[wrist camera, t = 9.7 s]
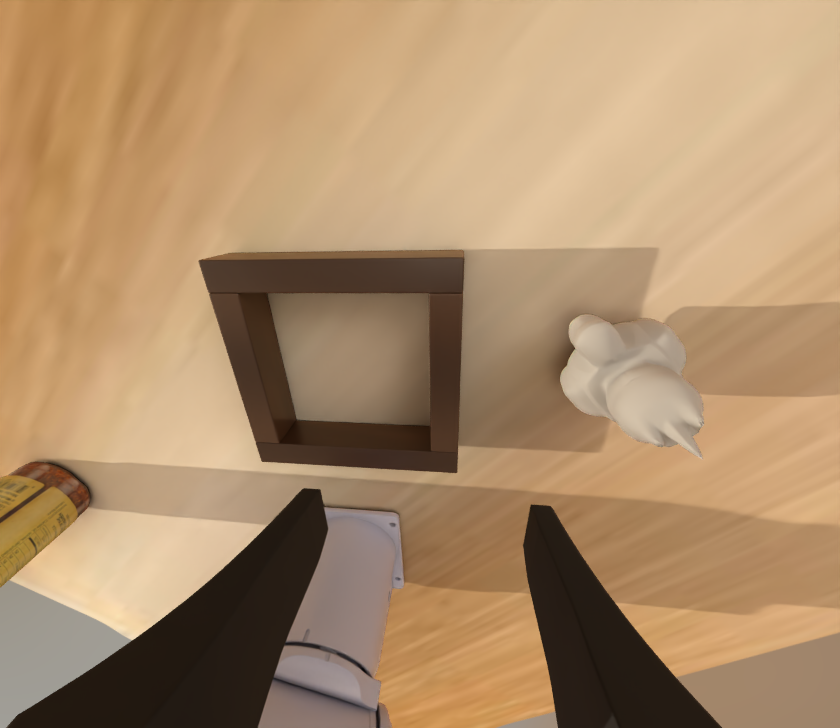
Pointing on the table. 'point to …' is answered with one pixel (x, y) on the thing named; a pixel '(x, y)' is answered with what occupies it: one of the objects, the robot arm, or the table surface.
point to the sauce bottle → (35, 512)
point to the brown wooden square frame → (264, 372)
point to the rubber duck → (634, 380)
